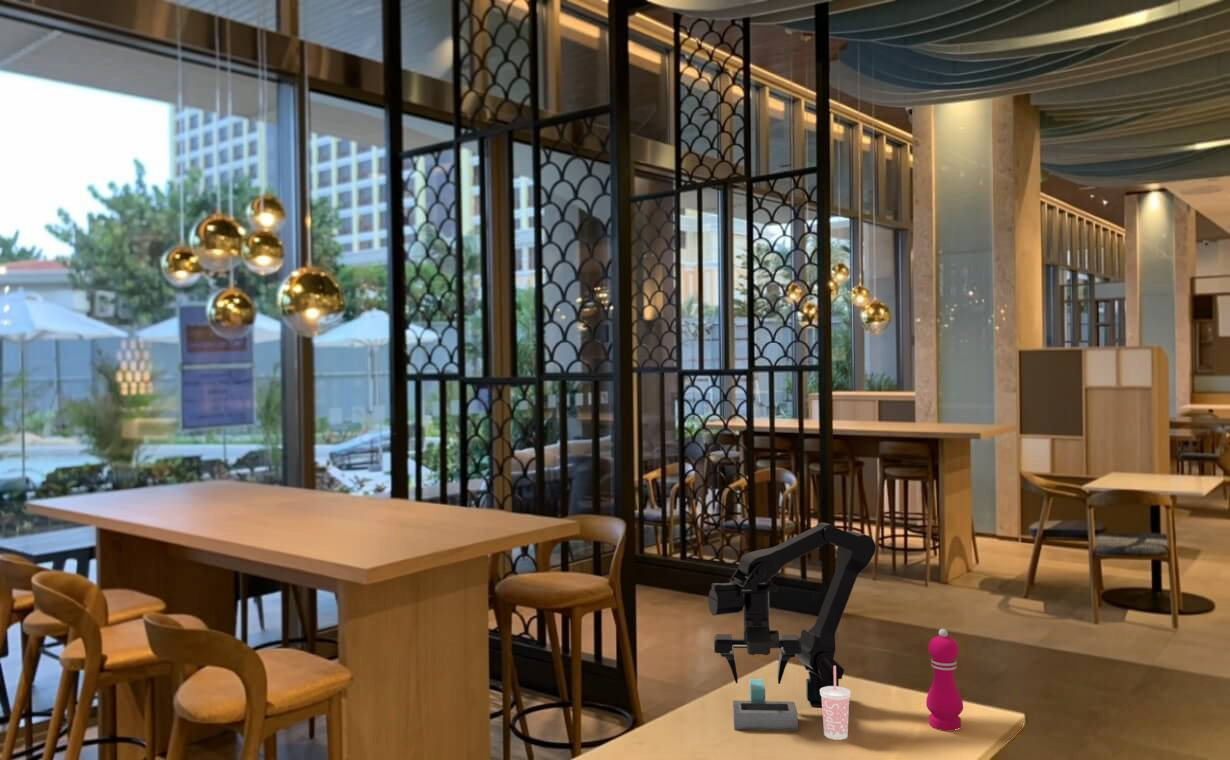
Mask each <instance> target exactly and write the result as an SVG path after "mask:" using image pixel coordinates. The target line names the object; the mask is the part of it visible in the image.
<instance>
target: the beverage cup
mask: <svg viewBox="0 0 1230 760" xmlns="http://www.w3.org/2000/svg"><path fill="white" fill-rule="evenodd" d="M820 695H821V699H822V706H821V707H822V708H821V709H822V711H821V712H822V721H823V722H822V724H823V735H824V736H826V737H825V738H827V739H830V740H836V741H837V740H839V741H841V740H846V739H847V738H848V736H849V735H848V731H849V709H850V698H851V690H850V689H849V688H846V687H842V686H839V687H838V686H836V666H834V686H827V687H823V688H821V689H820Z"/></svg>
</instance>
